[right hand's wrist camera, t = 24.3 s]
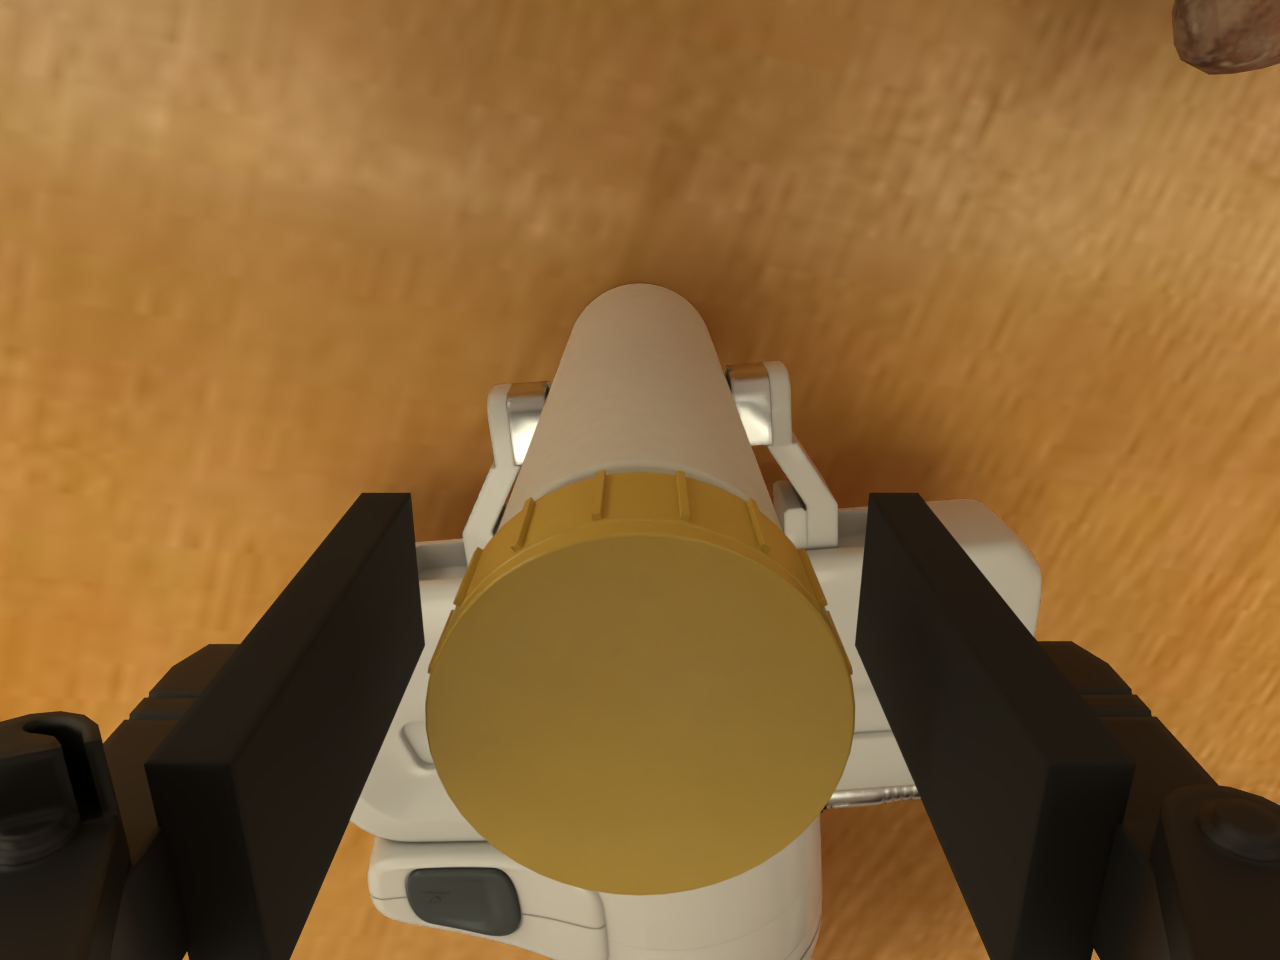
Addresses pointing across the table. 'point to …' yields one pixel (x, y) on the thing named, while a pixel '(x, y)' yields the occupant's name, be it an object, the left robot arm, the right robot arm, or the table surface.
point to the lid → (640, 687)
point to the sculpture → (1227, 34)
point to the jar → (640, 403)
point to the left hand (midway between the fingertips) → (635, 377)
